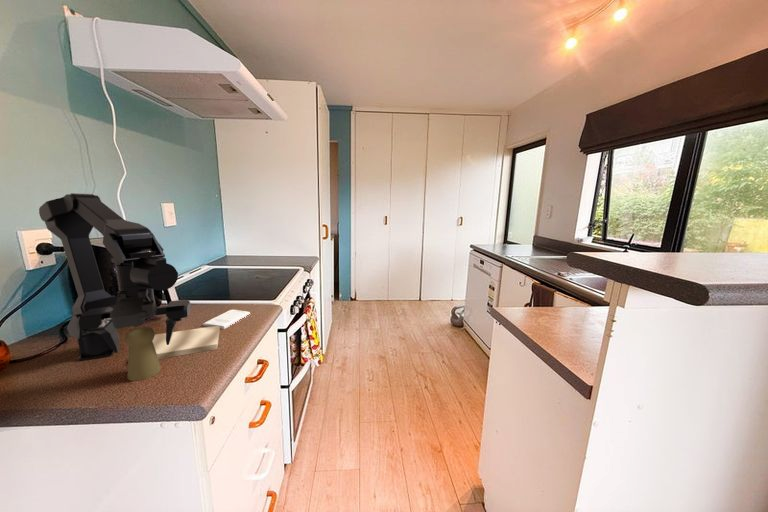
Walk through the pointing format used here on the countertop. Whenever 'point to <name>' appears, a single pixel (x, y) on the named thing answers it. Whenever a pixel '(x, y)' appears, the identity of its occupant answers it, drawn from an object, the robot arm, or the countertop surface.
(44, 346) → the countertop surface
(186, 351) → the birch board
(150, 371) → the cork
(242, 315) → the external hard drive
